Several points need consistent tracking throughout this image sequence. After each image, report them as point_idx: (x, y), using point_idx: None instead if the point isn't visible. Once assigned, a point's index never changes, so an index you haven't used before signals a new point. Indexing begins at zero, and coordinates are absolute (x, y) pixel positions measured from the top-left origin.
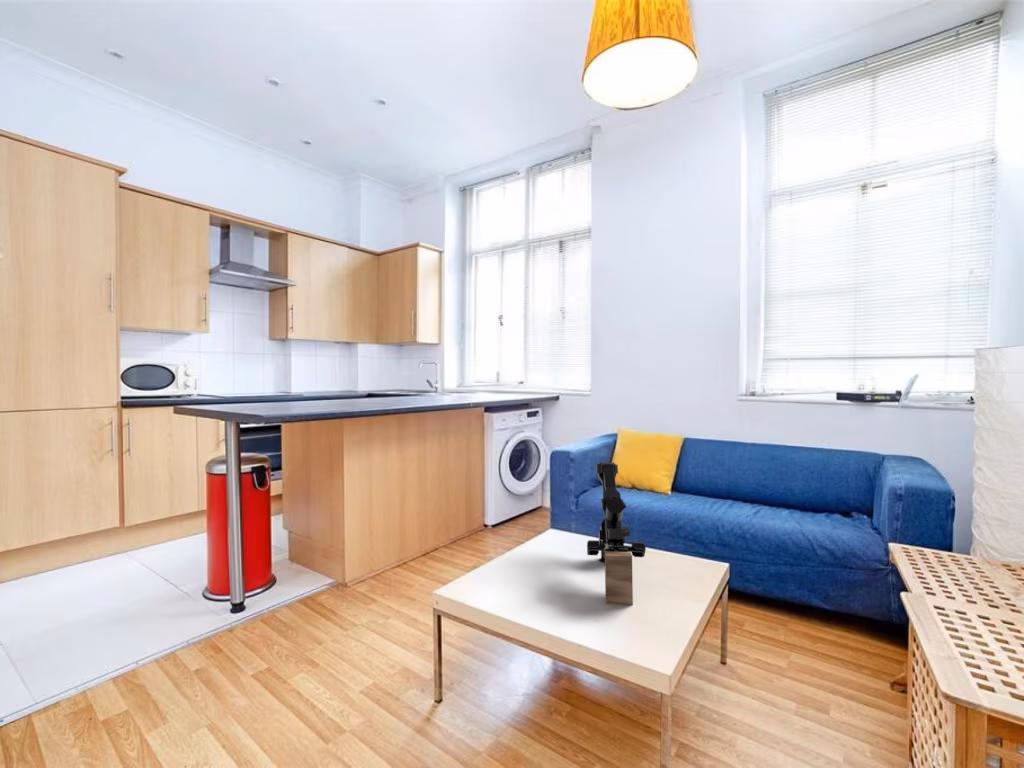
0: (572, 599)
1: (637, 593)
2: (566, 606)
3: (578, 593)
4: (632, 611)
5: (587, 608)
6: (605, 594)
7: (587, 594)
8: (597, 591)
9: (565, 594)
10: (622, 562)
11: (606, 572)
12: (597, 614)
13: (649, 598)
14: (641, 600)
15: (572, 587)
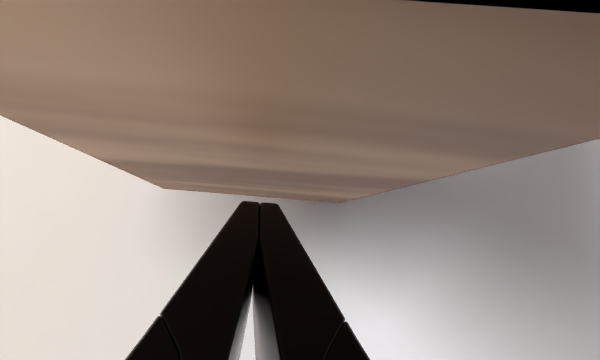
0: (534, 183)
1: (85, 294)
2: None
3: (502, 266)
4: None
5: None
6: (347, 200)
7: (449, 255)
8: (382, 305)
9: (574, 247)
10: None
11: (466, 3)
12: None
13: (11, 213)
14: (88, 180)
15: (540, 354)
